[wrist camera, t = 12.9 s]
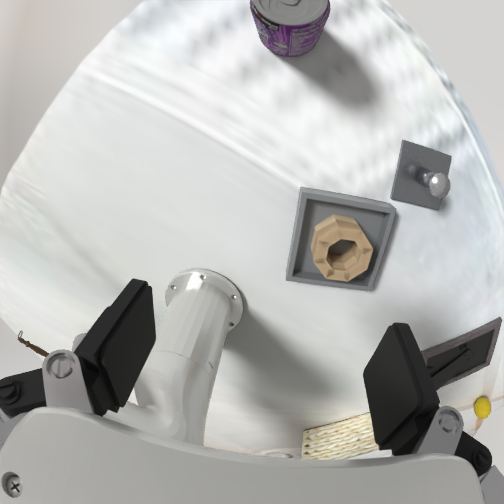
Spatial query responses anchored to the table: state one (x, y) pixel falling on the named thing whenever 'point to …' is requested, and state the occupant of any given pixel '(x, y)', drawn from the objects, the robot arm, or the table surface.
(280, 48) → the beverage can
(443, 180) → the grey knobbed square plate
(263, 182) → the table surface
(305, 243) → the charcoal tray
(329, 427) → the storage basket
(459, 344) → the picture frame
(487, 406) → the lemon
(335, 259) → the maple ring
